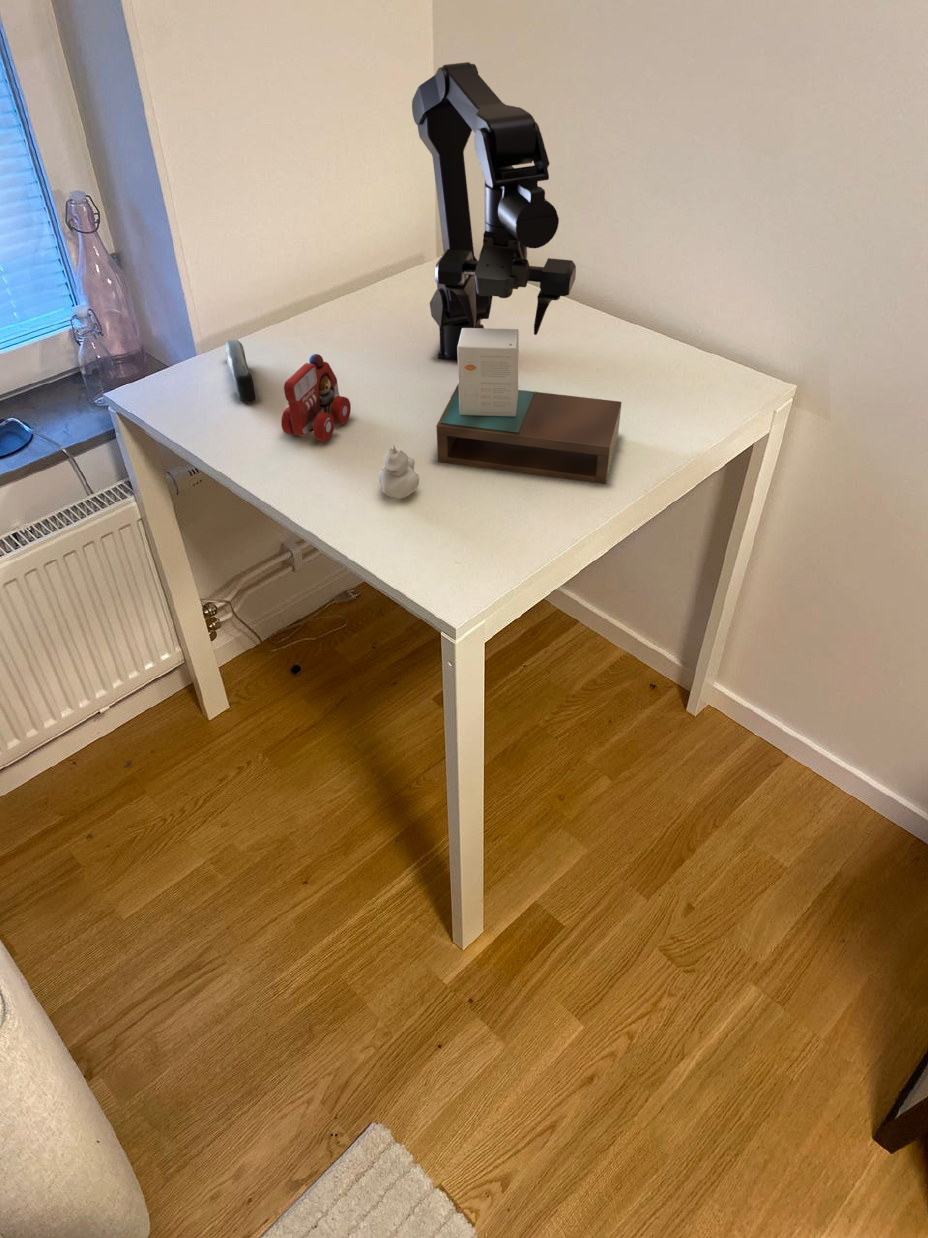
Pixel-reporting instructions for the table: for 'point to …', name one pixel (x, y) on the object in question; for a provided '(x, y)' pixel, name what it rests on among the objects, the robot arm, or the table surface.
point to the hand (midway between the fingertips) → (504, 330)
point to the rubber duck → (398, 474)
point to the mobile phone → (240, 371)
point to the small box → (488, 371)
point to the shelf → (535, 437)
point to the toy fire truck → (314, 401)
